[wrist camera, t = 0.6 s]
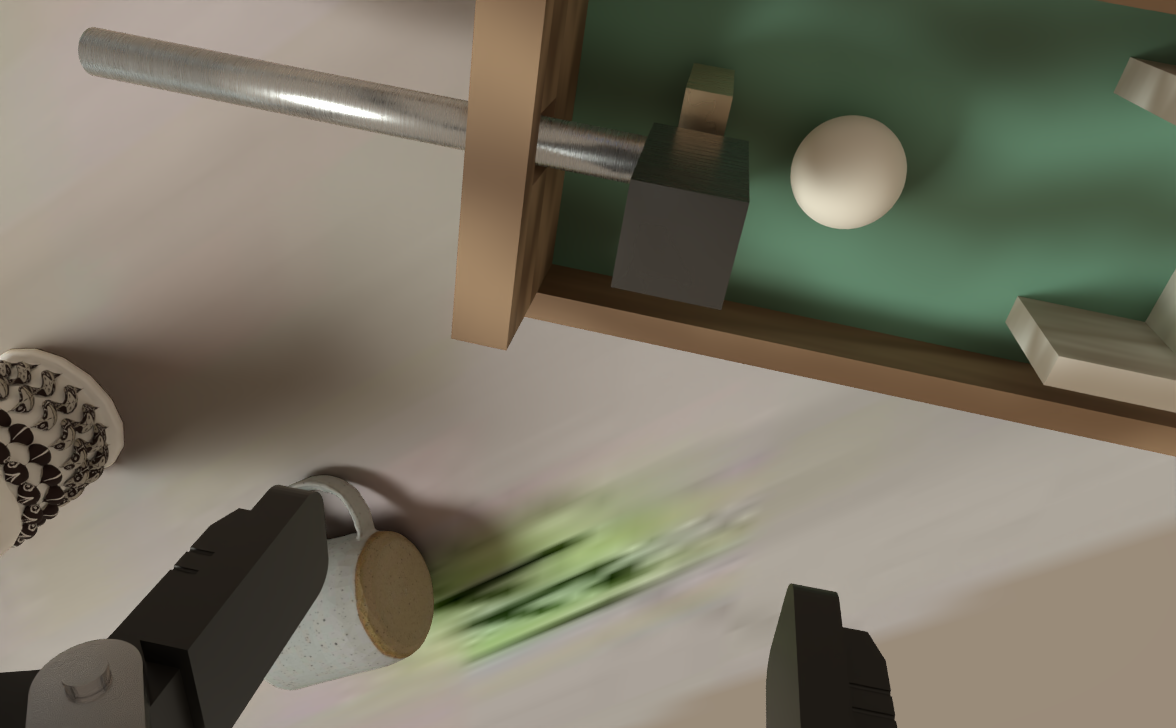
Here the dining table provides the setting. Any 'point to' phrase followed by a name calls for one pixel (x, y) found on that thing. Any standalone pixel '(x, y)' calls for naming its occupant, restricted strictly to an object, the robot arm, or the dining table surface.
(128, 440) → the dining table surface
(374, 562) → the ceramic mug
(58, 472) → the decorative candle
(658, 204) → the kicker rod
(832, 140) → the ball
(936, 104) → the foosball field
